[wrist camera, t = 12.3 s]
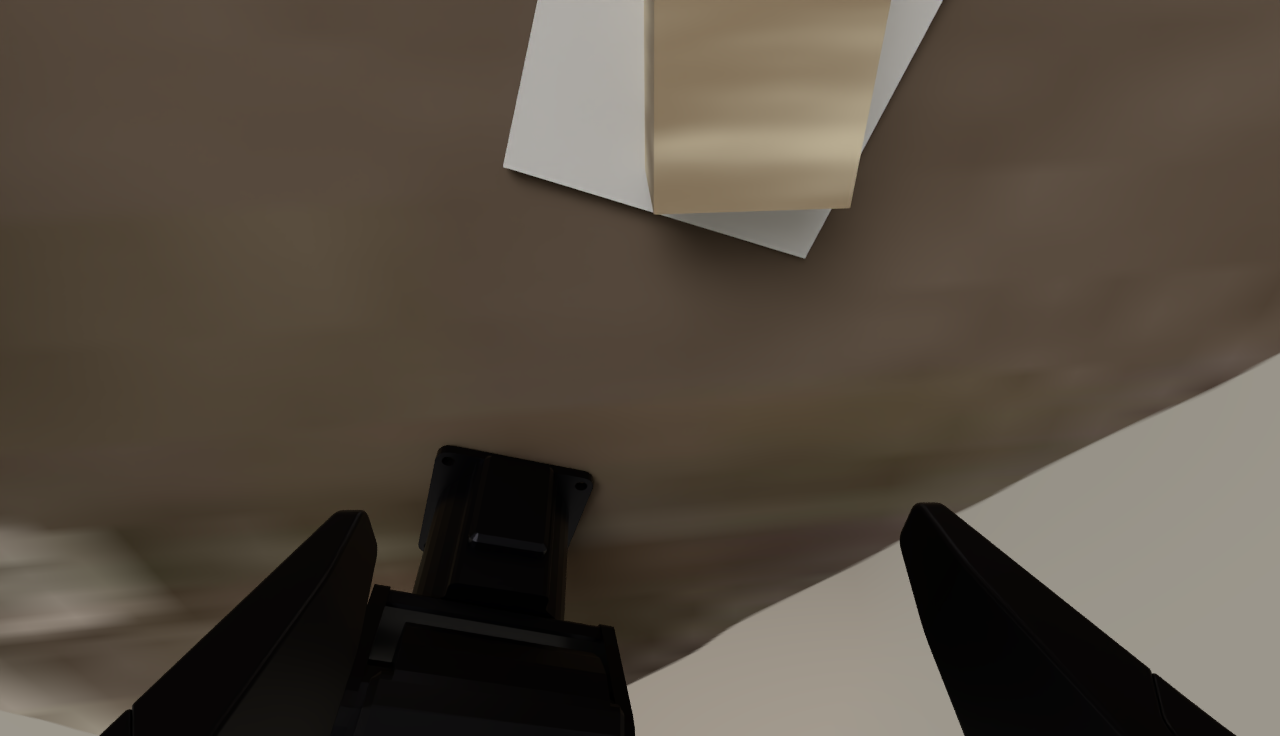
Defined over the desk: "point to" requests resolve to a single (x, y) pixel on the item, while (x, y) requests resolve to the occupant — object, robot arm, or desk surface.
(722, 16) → the birch block
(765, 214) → the grey board
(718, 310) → the desk surface
